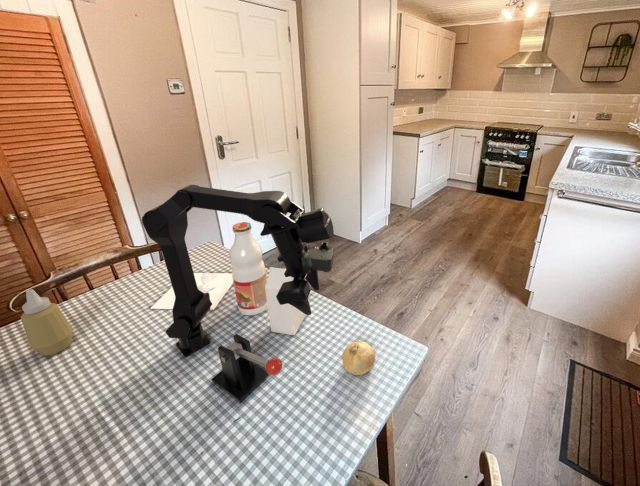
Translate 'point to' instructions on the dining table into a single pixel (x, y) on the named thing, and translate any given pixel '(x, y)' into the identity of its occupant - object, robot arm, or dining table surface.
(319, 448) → the dining table surface
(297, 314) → the milk carton
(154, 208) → the robot arm
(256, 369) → the bracket
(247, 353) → the lever
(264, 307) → the fruit juice
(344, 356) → the onion
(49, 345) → the squeeze bottle
